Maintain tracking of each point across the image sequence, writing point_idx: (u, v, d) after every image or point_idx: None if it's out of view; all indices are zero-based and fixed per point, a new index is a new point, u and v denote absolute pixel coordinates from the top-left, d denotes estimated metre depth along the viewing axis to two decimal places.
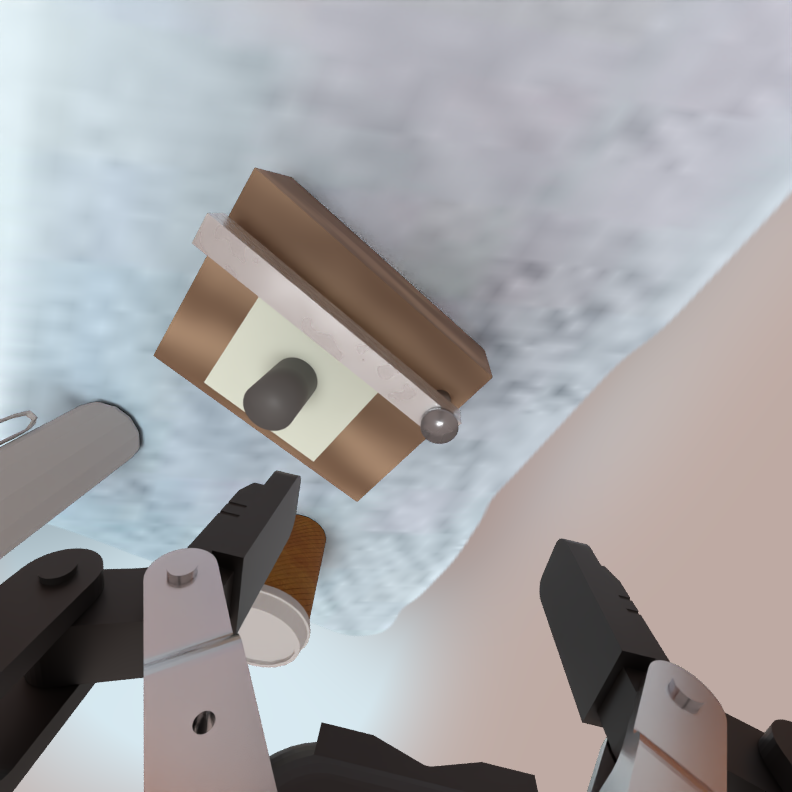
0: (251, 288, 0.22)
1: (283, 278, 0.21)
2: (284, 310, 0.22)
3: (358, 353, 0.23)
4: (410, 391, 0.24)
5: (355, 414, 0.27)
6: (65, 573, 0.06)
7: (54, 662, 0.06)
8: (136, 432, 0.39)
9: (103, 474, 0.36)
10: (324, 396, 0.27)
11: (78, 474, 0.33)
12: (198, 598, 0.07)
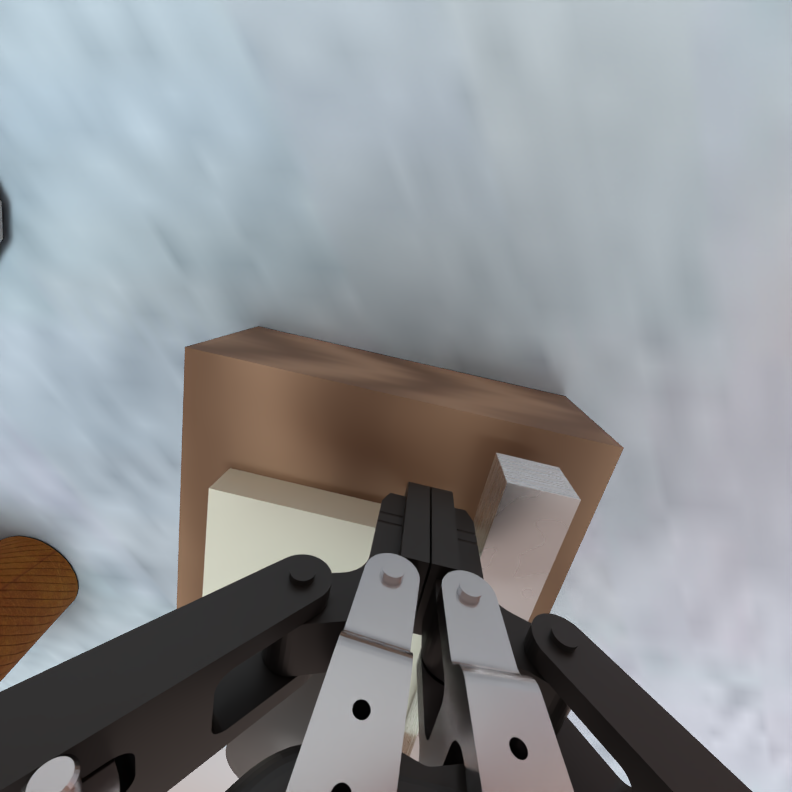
0: None
1: None
2: None
3: None
4: None
5: None
6: (305, 579, 0.07)
7: (278, 652, 0.07)
8: None
9: None
10: None
11: None
12: (395, 603, 0.07)
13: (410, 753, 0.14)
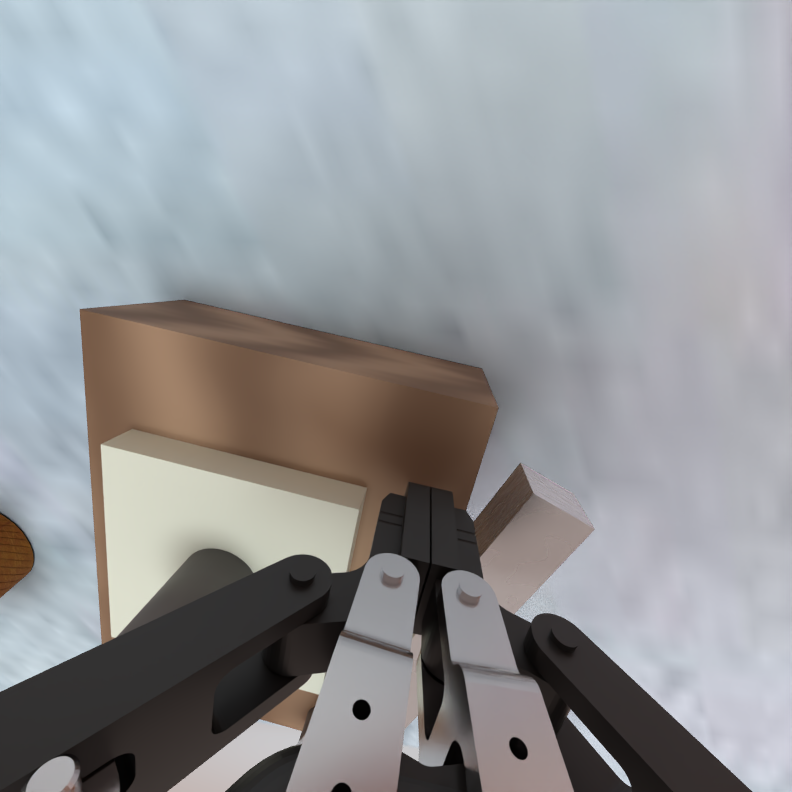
0: None
1: None
2: None
3: None
4: None
5: None
6: (305, 579, 0.07)
7: (278, 652, 0.07)
8: None
9: None
10: None
11: None
12: (395, 603, 0.07)
13: None
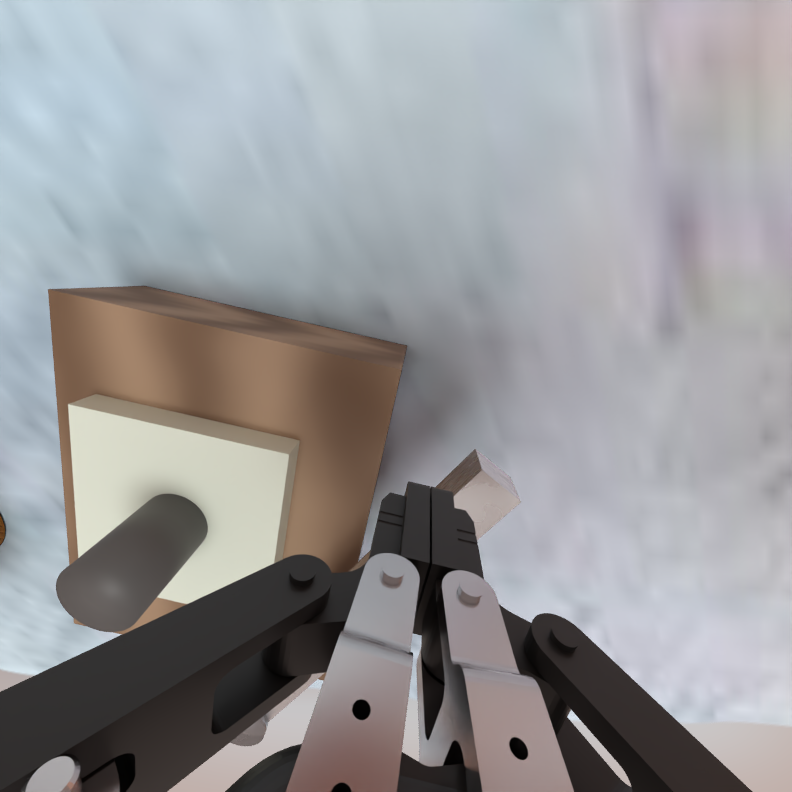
0: None
1: None
2: None
3: None
4: None
5: (185, 602, 0.20)
6: (304, 579, 0.07)
7: (278, 652, 0.07)
8: None
9: None
10: None
11: None
12: (395, 603, 0.07)
13: None
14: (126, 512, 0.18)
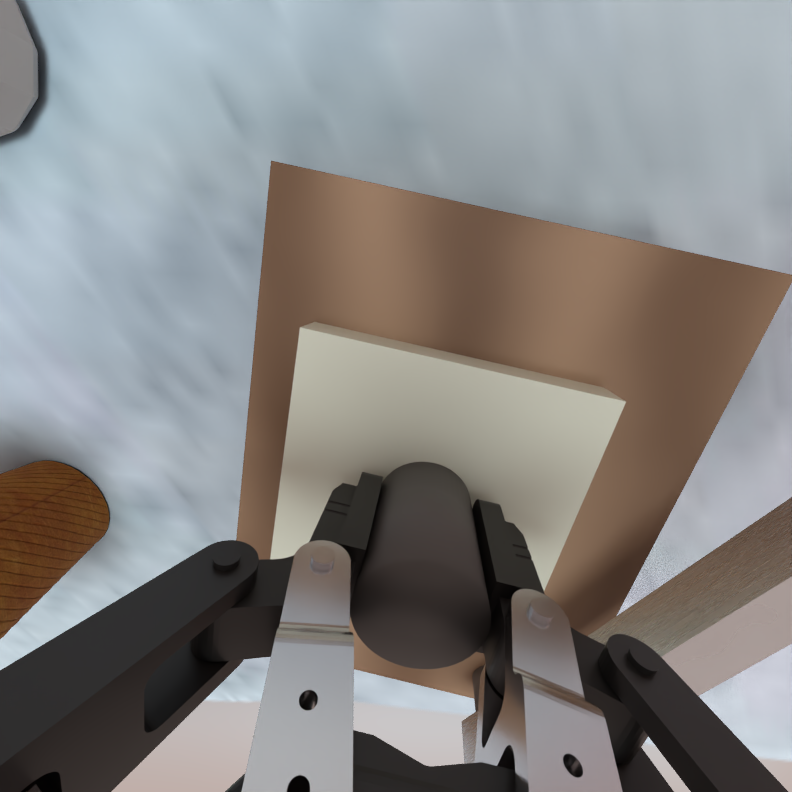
0: None
1: None
2: None
3: None
4: None
5: None
6: (230, 563, 0.07)
7: (208, 639, 0.07)
8: (14, 126, 0.17)
9: None
10: None
11: None
12: (329, 588, 0.07)
13: None
14: None
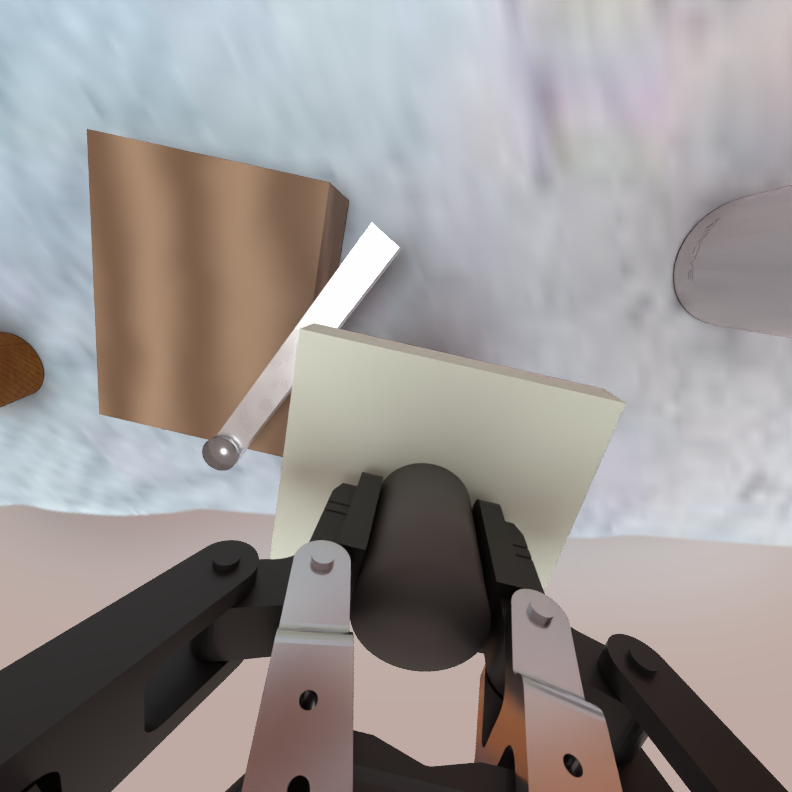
0: (331, 281, 0.22)
1: (343, 316, 0.23)
2: (313, 313, 0.23)
3: (279, 381, 0.24)
4: (250, 427, 0.25)
5: None
6: (230, 563, 0.07)
7: (208, 639, 0.07)
8: None
9: None
10: None
11: None
12: (329, 588, 0.07)
13: (260, 375, 0.24)
14: None
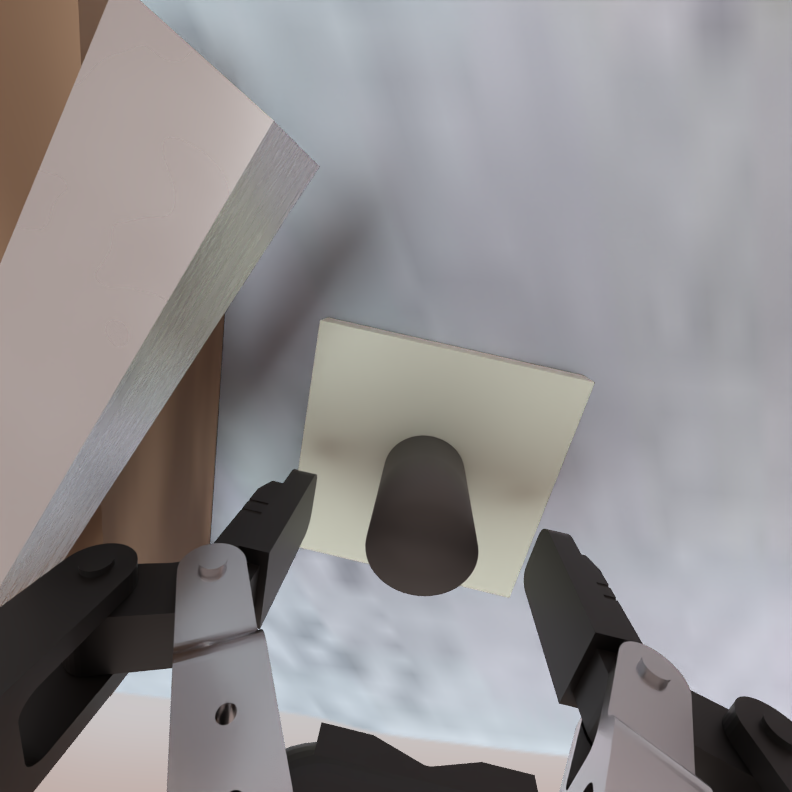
0: None
1: (82, 434, 0.06)
2: None
3: None
4: None
5: None
6: (102, 567, 0.07)
7: (89, 653, 0.07)
8: None
9: None
10: None
11: None
12: (226, 592, 0.07)
13: None
14: (364, 460, 0.15)
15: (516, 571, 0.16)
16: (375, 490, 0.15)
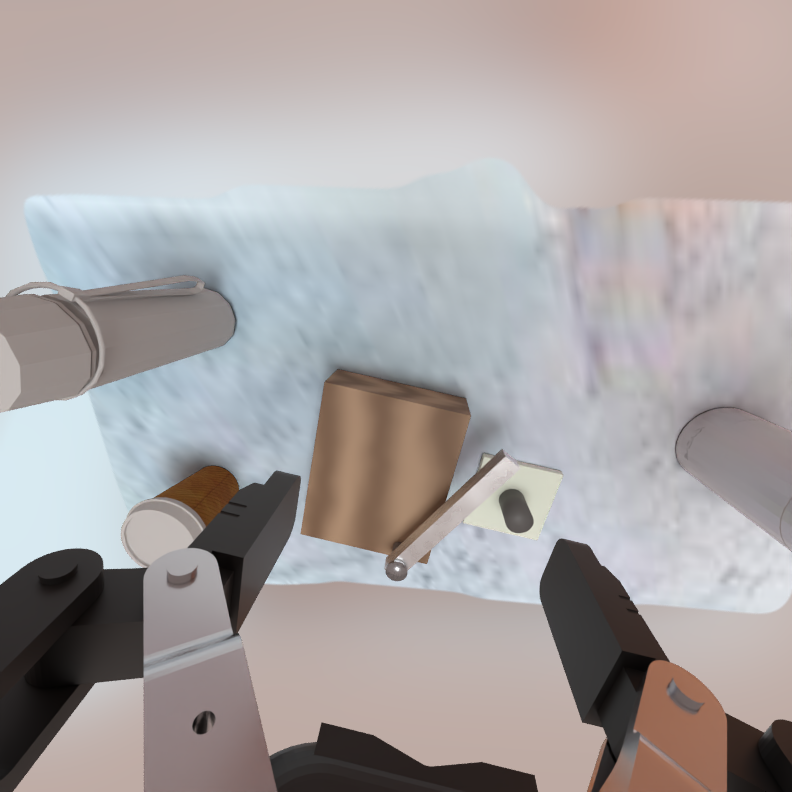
0: (478, 483, 0.38)
1: (483, 500, 0.39)
2: (465, 498, 0.39)
3: (439, 532, 0.40)
4: (416, 556, 0.41)
5: (505, 532, 0.49)
6: (65, 573, 0.06)
7: (54, 662, 0.06)
8: None
9: None
10: None
11: (188, 356, 0.39)
12: (198, 598, 0.07)
13: (427, 528, 0.40)
14: (492, 496, 0.48)
15: (539, 531, 0.49)
16: (495, 505, 0.48)
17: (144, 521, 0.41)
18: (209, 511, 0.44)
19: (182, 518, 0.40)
